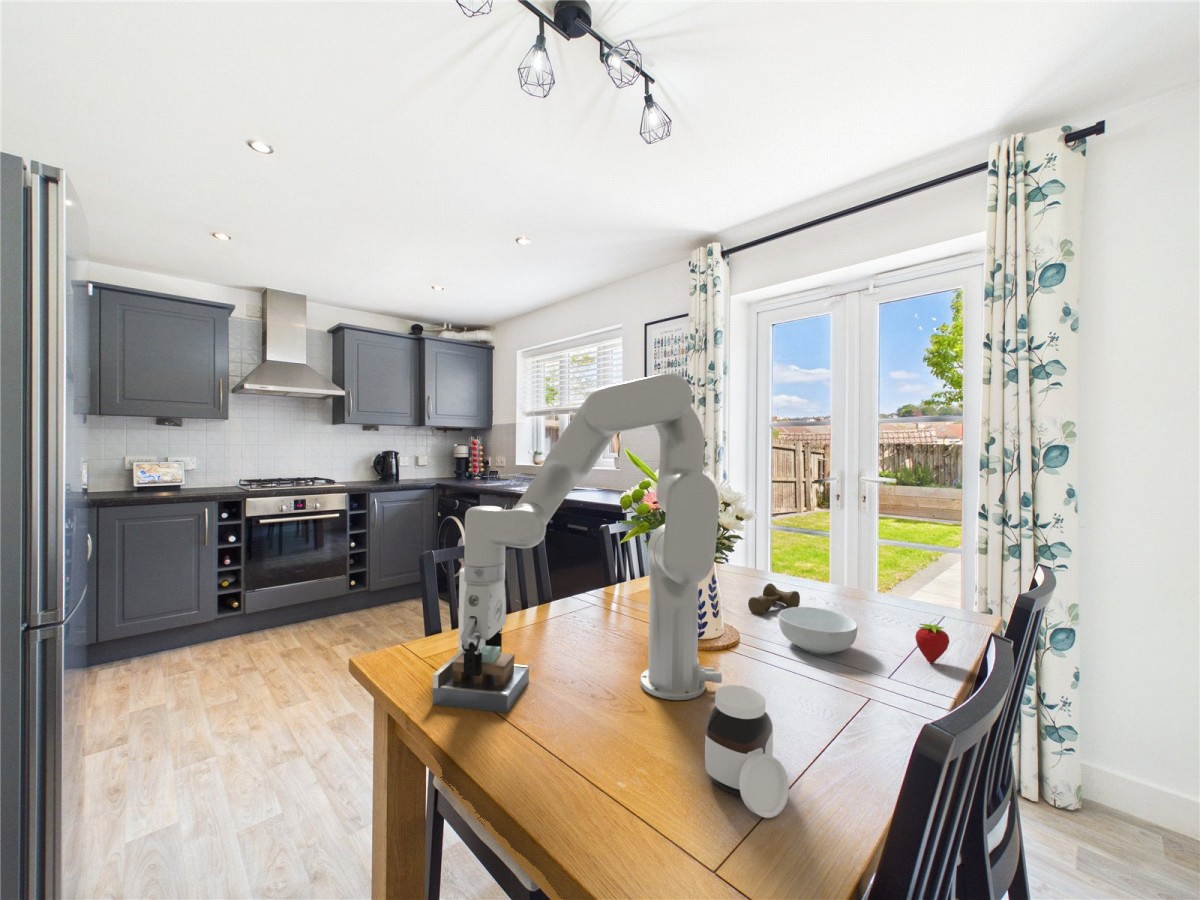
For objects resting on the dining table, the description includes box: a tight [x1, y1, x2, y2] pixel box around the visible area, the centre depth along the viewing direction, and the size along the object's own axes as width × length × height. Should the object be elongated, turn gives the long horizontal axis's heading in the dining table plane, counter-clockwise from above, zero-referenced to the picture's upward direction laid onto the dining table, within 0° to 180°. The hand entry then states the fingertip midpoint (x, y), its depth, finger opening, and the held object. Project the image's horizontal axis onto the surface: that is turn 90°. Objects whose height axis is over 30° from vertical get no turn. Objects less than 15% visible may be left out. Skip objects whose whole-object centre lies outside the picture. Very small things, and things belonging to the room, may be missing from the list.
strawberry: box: [914, 618, 950, 664], centre depth 110 cm, size 6×8×10 cm
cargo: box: [475, 645, 502, 663], centre depth 94 cm, size 5×4×2 cm
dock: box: [432, 648, 530, 714], centre depth 94 cm, size 14×12×5 cm
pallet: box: [453, 652, 516, 686], centre depth 94 cm, size 10×6×4 cm, turn 80°
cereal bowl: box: [778, 606, 858, 655], centre depth 117 cm, size 17×17×7 cm
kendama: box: [747, 582, 801, 616], centre depth 147 cm, size 6×10×20 cm
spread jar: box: [704, 684, 790, 819], centre depth 68 cm, size 12×11×12 cm
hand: (483, 663), depth 94 cm, fingers open, 9 cm apart
